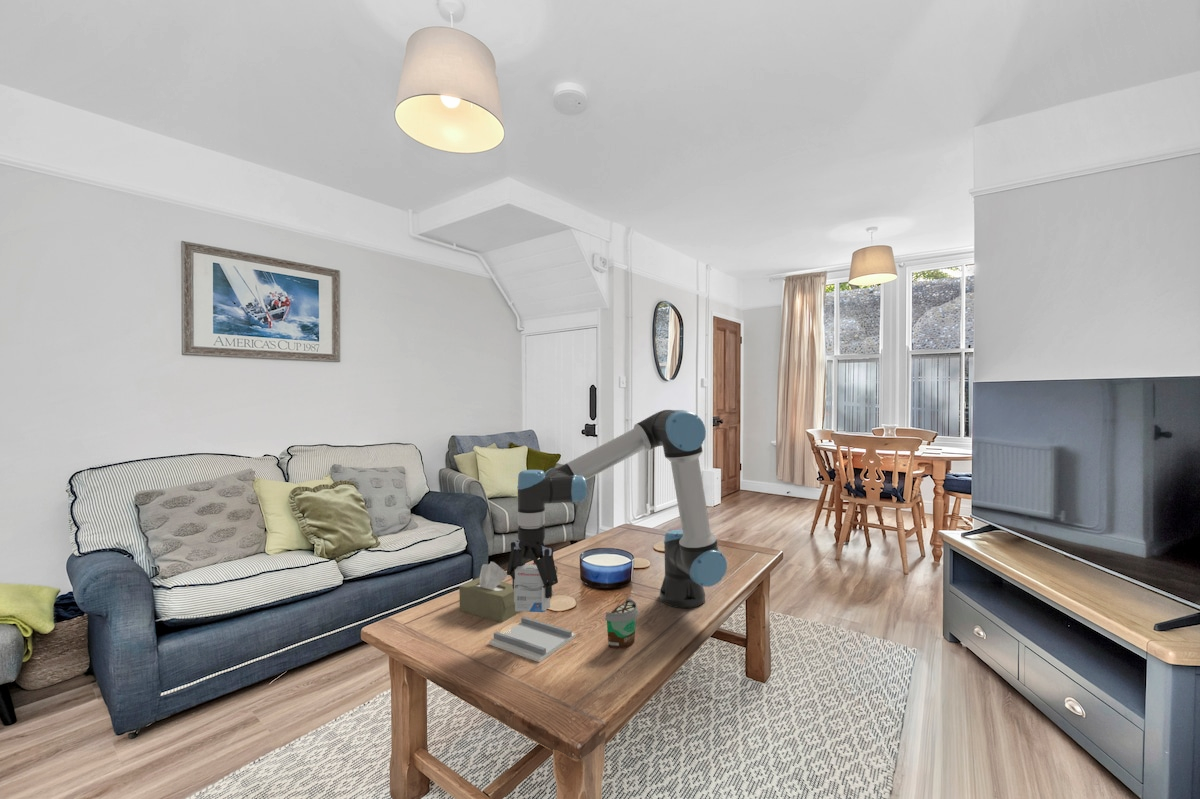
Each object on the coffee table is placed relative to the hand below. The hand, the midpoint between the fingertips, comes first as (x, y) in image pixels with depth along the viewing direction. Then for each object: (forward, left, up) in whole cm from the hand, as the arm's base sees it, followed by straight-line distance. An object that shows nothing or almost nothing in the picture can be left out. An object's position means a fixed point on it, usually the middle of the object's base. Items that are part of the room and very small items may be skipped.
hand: (531, 604), depth 144 cm
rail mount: (0, 0, -10) cm, 10 cm away
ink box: (0, 0, -1) cm, 1 cm away
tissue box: (+25, -9, -11) cm, 28 cm away
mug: (+18, -27, -11) cm, 34 cm away
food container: (-23, -13, -11) cm, 29 cm away
